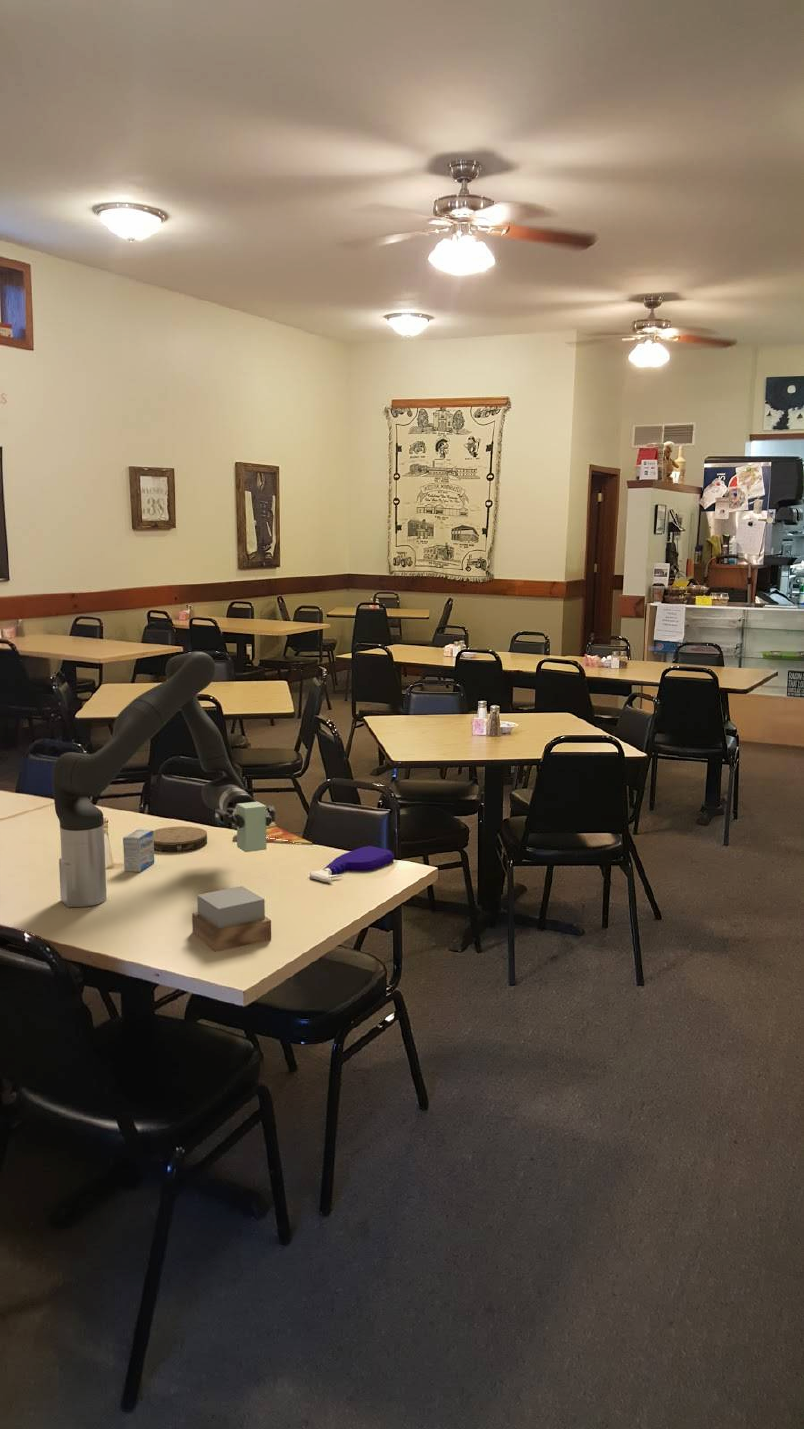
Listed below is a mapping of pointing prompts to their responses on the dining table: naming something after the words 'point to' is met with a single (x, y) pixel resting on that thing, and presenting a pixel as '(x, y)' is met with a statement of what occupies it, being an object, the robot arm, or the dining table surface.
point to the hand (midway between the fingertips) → (254, 822)
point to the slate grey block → (231, 907)
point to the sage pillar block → (252, 827)
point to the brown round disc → (179, 839)
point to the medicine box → (138, 850)
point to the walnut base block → (231, 933)
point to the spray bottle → (355, 862)
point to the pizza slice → (280, 836)
